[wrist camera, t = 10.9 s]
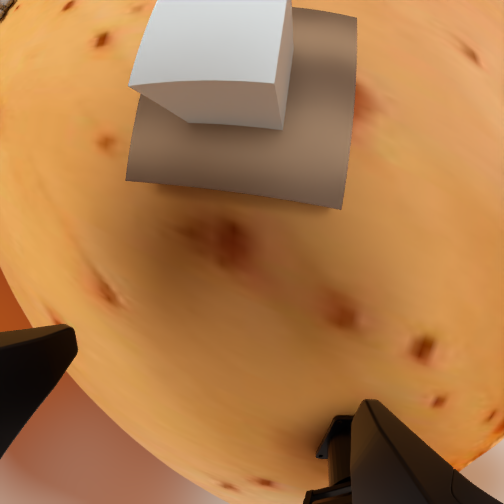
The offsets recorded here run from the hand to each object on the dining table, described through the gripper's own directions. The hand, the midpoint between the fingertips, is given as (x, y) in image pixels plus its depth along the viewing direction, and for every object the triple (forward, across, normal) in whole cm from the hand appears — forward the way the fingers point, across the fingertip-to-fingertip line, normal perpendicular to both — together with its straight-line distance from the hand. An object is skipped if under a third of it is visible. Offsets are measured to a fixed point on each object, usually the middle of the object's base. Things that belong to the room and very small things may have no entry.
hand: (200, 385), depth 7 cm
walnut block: (+12, +2, -11) cm, 16 cm away
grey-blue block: (+8, +2, -11) cm, 14 cm away
